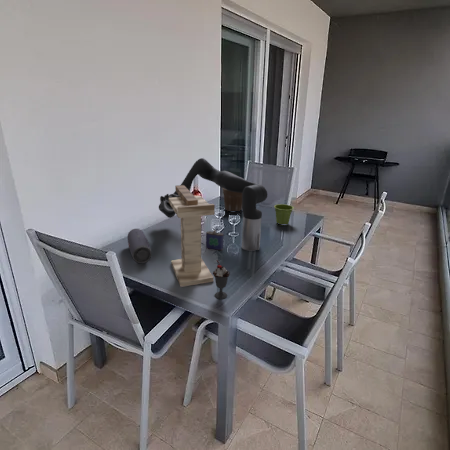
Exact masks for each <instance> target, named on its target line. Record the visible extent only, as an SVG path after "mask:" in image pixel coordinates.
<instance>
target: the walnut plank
mask: <svg viewBox="0 0 450 450" xmlns="http://www.w3.org/2000/svg"><path fill="white" fill-rule="evenodd" d="M175 191H176V192H177V193H178V195H179V196H180V197H181V199H182V200H183V201H184V202H185V204H186V205H187V206H191V205H198V200H197V199H196V198H195V196H196V195H194V194H193V193H192V191H191V190H190V191H189V190H188V189H187V188H186V187H185V186H184V185H181V184H179V185H175Z"/></svg>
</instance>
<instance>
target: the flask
mask: <svg viewBox="0 0 450 450" xmlns="http://www.w3.org/2000/svg"><path fill="white" fill-rule="evenodd" d="M205 234H206V235H205V248H206V249H207V250H211V251H218V252H221V251H224V236H225V235H224V233H223V232H217V229H213V231H211V230H209V231H206V232H205Z"/></svg>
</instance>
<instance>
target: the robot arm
mask: <svg viewBox="0 0 450 450" xmlns="http://www.w3.org/2000/svg"><path fill="white" fill-rule="evenodd" d="M197 176H199V177H200V178H202V179H203V180H207V181H210V182H213V183H215V184H216V185H217V186H218V187H220V188H224V189H226V190H228V191H232V192H238V193H242V211H241V212H242V214H243V216H242V230H241V231H242V233H241V248H242V249H243V251H247V252H255V250H259V251H260V245H261V234H262V230H261V229H262V219H263V218H262V217H263V216H262V213H263V212H262V211H261V210H260V209H258V208H257V204H260V203H264V202H265V201H266V199H267V198H268V191H267V189H266V188H265V186H263V185H262V184H259V183H256V182H253V181H249V180H247V179H244V178H243V177H240V176H238V175H237V174H235V173H232V172H230V171H228V170H218V169H217V168H215V167H214V166H213V165H212V164H211V163H210V162H209V161H208V160H207V159H205V158H204V157H203V158H199V159H197V160H196V161H195V162H194V164H193V165H192V166H191V168H190V169H189V171H188V173H187V174H186V175H185V178H184V179H183V181H182V182H181V183H180V185H184V186H185V187H186V188H187V189H188V190H189V191H190V192H191V189H192V184H193V182H194V179H195V178H196V177H197ZM159 197H160V198H159V201H160V203H159V204H158V210H159V211H160V212H161V213H162V214H164V215H165V216H166V217H167V218H168V219H171V218H173V217H174V216H175V215H177V214H176V213H175V211H174V210H173V208H172V207H171V205H170V203H169V198H174V197H180V196H179V195H178V193H177V192H176V190H174V192H173V193H171V194H169V193H167V194H165V195H164V196H163V195H161V196H159Z"/></svg>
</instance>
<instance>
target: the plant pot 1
mask: <svg viewBox="0 0 450 450" xmlns="http://www.w3.org/2000/svg"><path fill="white" fill-rule="evenodd" d="M221 188H222V187H221ZM222 191H223V192H222V193H223V203H224V210H225V209H226V210H227V211H226V210H225V211H226V212H228V211H240V210H242V193H238V192H232V191H228V190H226V189H224V188H222ZM240 212H241V211H240Z"/></svg>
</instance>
